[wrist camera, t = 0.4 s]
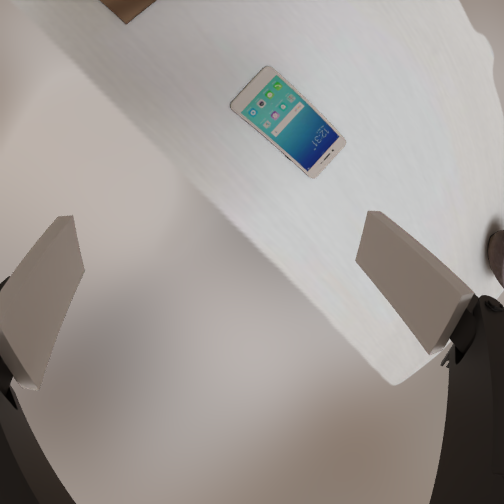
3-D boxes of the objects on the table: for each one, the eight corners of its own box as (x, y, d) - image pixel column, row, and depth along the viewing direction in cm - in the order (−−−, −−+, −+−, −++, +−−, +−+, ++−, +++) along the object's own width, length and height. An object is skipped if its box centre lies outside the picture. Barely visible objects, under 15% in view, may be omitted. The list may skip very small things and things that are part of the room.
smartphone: (268, 63, 30) (348, 142, 37) (266, 64, 31) (346, 141, 38) (227, 106, 32) (313, 181, 39) (226, 106, 33) (311, 179, 39)
